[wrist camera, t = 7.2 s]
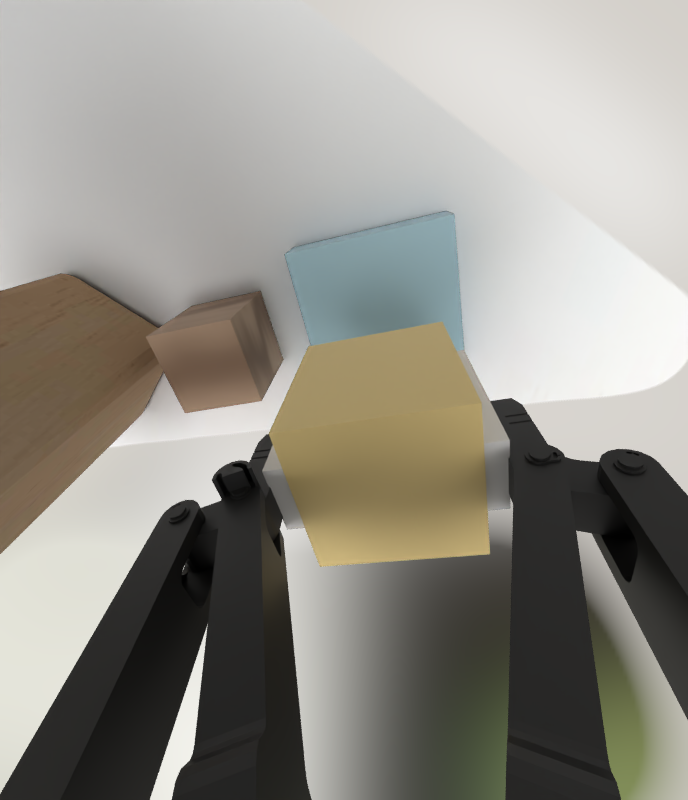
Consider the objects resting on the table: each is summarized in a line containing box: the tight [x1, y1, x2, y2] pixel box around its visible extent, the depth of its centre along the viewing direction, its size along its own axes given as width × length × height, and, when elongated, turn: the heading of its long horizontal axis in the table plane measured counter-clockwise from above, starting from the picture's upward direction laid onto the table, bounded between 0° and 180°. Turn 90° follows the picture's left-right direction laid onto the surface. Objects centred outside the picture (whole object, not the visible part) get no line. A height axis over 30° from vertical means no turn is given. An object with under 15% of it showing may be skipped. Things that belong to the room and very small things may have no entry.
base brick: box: [285, 211, 464, 351], centre depth 27 cm, size 11×11×3 cm
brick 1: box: [146, 291, 283, 413], centre depth 28 cm, size 6×6×7 cm
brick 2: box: [269, 322, 490, 567], centre depth 15 cm, size 6×6×7 cm
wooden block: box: [0, 274, 163, 554], centre depth 24 cm, size 10×10×20 cm
